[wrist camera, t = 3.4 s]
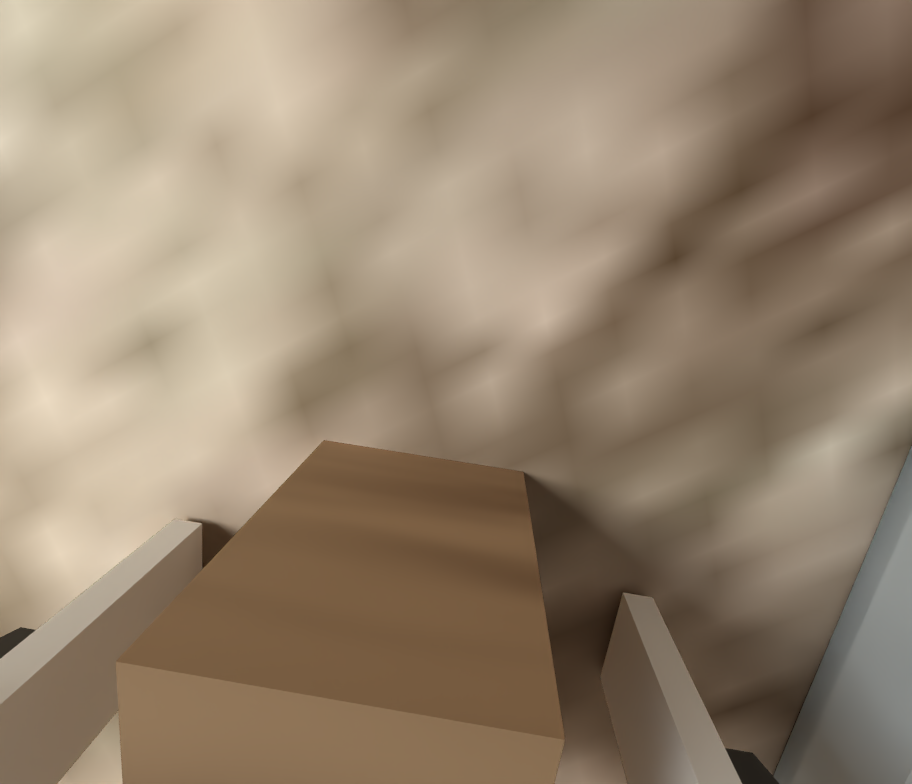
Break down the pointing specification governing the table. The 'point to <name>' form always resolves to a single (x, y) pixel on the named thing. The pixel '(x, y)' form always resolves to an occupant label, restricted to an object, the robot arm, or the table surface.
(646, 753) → the robot arm
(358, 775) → the block
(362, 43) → the table surface
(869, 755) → the tray
